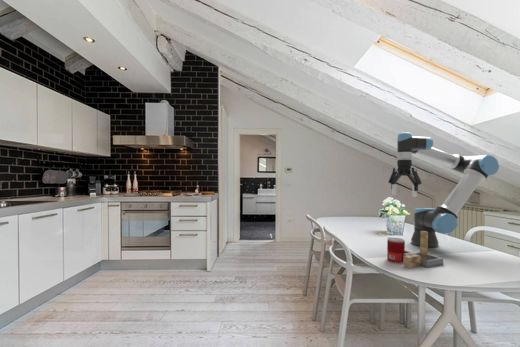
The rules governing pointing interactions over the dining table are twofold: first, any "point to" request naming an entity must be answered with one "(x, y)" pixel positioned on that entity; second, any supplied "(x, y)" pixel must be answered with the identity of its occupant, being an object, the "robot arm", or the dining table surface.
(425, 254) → the dowel
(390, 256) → the canned food
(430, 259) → the tray
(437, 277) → the dining table surface
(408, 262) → the wooden block
